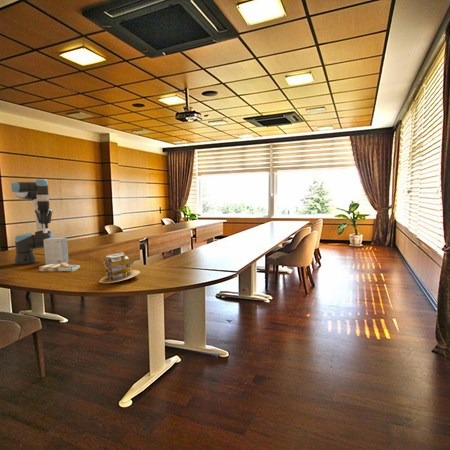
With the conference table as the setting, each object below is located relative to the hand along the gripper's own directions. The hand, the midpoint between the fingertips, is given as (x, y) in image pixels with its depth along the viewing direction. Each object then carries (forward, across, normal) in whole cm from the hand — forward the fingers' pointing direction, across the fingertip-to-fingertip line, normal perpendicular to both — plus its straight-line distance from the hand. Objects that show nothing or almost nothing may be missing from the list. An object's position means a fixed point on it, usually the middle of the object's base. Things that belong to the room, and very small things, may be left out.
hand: (45, 232), depth 225 cm
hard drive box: (+27, -3, +15) cm, 31 cm away
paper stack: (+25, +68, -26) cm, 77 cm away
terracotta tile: (+24, +16, -4) cm, 29 cm away
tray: (+26, +20, -5) cm, 33 cm away
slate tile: (+23, +21, -5) cm, 32 cm away
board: (+26, +7, -4) cm, 28 cm away
